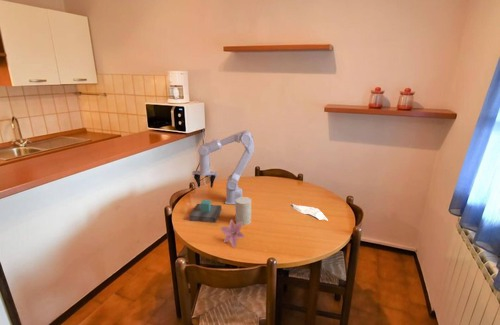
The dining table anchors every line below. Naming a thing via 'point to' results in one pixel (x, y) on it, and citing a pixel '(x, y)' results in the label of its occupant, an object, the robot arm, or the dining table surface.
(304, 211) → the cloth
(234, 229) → the lily
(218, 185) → the dining table surface
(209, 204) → the block
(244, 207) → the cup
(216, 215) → the plinth
